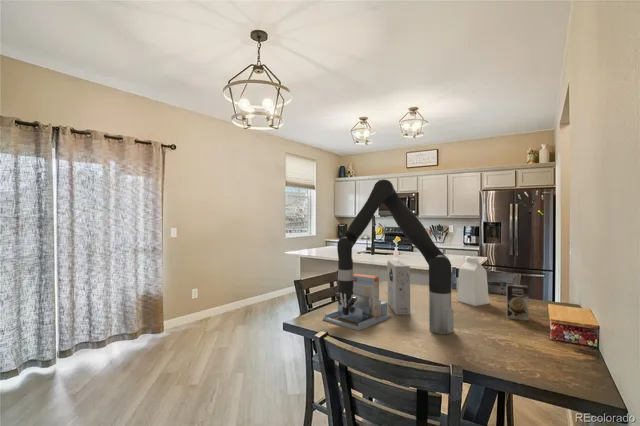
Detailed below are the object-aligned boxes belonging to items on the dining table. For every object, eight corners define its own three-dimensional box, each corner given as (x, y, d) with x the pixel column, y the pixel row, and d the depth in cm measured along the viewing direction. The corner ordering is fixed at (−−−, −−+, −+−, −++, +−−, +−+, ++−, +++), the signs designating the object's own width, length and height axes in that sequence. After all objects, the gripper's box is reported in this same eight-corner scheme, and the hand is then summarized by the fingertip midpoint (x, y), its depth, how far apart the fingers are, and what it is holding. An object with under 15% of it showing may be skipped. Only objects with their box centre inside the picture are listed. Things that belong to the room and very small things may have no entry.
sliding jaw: (374, 321, 151) (374, 298, 152) (365, 325, 146) (365, 301, 146) (343, 313, 165) (343, 292, 165) (334, 316, 160) (334, 294, 160)
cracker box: (380, 318, 158) (379, 276, 158) (373, 321, 153) (373, 277, 153) (356, 312, 167) (355, 272, 167) (349, 315, 162) (349, 274, 162)
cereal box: (410, 314, 163) (410, 266, 163) (395, 314, 163) (395, 266, 163) (400, 303, 184) (400, 260, 185) (387, 303, 185) (387, 260, 185)
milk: (457, 300, 188) (456, 257, 189) (471, 298, 193) (470, 256, 194) (474, 306, 178) (474, 259, 178) (488, 303, 182) (488, 258, 183)
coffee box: (507, 318, 156) (506, 285, 156) (506, 314, 162) (505, 283, 162) (529, 321, 152) (528, 287, 152) (527, 317, 157) (527, 284, 157)
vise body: (390, 317, 159) (390, 299, 159) (358, 330, 140) (358, 310, 140) (355, 308, 174) (355, 292, 174) (322, 319, 156) (322, 301, 156)
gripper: (361, 279, 150) (361, 316, 150) (340, 275, 159) (340, 310, 159) (351, 281, 144) (351, 319, 144) (330, 277, 154) (330, 313, 154)
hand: (345, 314), depth 152 cm, fingers closed
